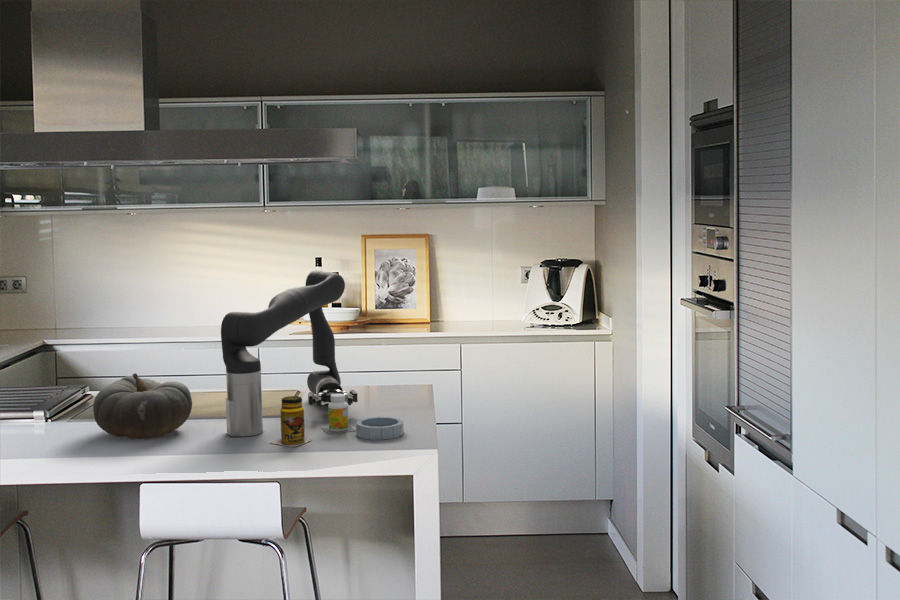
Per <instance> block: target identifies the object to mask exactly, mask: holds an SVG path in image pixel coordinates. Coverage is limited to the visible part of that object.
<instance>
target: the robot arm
mask: <svg viewBox="0 0 900 600" xmlns="http://www.w3.org/2000/svg"><path fill="white" fill-rule="evenodd" d="M345 289H346V282H345V279H344V278H343V276H342V275H340V274H338V273H336V272H331V271H324V270H323V271H322V270H312V271H310V272H309V273H308V275H307V276H306V279H305V286H304V285H302V286H298V287H297V286H296V287H292V288H288V289H285V290H284V291H281V292H279V293H278V294H276V295H275V296H273V297H272V298H271V300H270V301H269V304H268V306H267V308H266V309H264V310H261V311H258V312H248V311H247V312H246V311H245V312H244V311H230V312H228V313H226V314H225V316H223V318H222V321H221V326H220V338H221V339H220V340H221V341H220V342H221V350H222V359H223V364H224V365H225V371H226V372H225V373H226V374H225V375H226V377H225V378H226V398H225V412H226V413H225V416H226V432H227V434H228V435H229V437H231V438H232V437H250V436H251V437H253V436H257V435H259V434H262V433H263V432H264V423H263V422H264V421H263V401H262V399H263V397H262V396H263V394H262V366H261V364H262V363H261V360H260V359H259V358H257V357H255V356H254V355H252V354H251V353H250V352H249V351H248V350H247V347H249V348H250V347H257V346H259V345H261V344H262V343H263V342H265V341H266V340H267V339H268V338H270V337H271V336H272V335H273V334H275V333H277V332H278V331H279V330H281V329H284V328H285V327H287V326H289V325H290V324H293V323H294V322H296V321H298V320H300V319H301V318H303V317H304V316H306V315H308V317H309V320H310V327H311V335H312V336H311V337H312V361H313V363H314V364H315V365H318V366H321V367H322V366H323V367H325V368H326V367H327V368H328V370H315V371H312V372H310V373H309V374H308V375H307V380H306V383H307V388H308V389H309V392H308V394H307V403H308V405H309V406H312V405H315V406H318V408H321V407H322V406H326V407H328V405H329V403H331V402H332V401H331V395H332V394H345V400H344V401H345V402H346V403H347V404H348V406H351V405H352V404H353V403H358V394H359V393H358V392H357V391H356V390H354V389H350V390H349V392H348V391H345V390H343V388H342V386H341V384H342V382H341V377H340V374H339V370H338V367H337V362H336V350H335V349H336V343H335V342H336V341H335V339H336V338H335V335H334V333H333V332H334V331H333V330H332V328H331V326H330V324H329V322H328V321H327V318H326V316H325V313H324V310H323V306H326V305H329V304H333V303H335V302H337V301H338V300H339V299H341V297H342V296H343V294H344V292H345Z"/></svg>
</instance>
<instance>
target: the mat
mask: <svg viewBox="0 0 900 600" xmlns="http://www.w3.org/2000/svg"><path fill="white" fill-rule="evenodd" d="M320 429H321V430H322V431H323V432H324V433H325V434H327V435H335V434H345V433H346V434H347V433H351V432H352V433H353V432H354V433H355V432H356V428H353V427H352V426H350V425H349V424H348V429H347V430H345V431H339V432H336V431H330V430H329V426H328V427H322V428H320Z"/></svg>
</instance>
